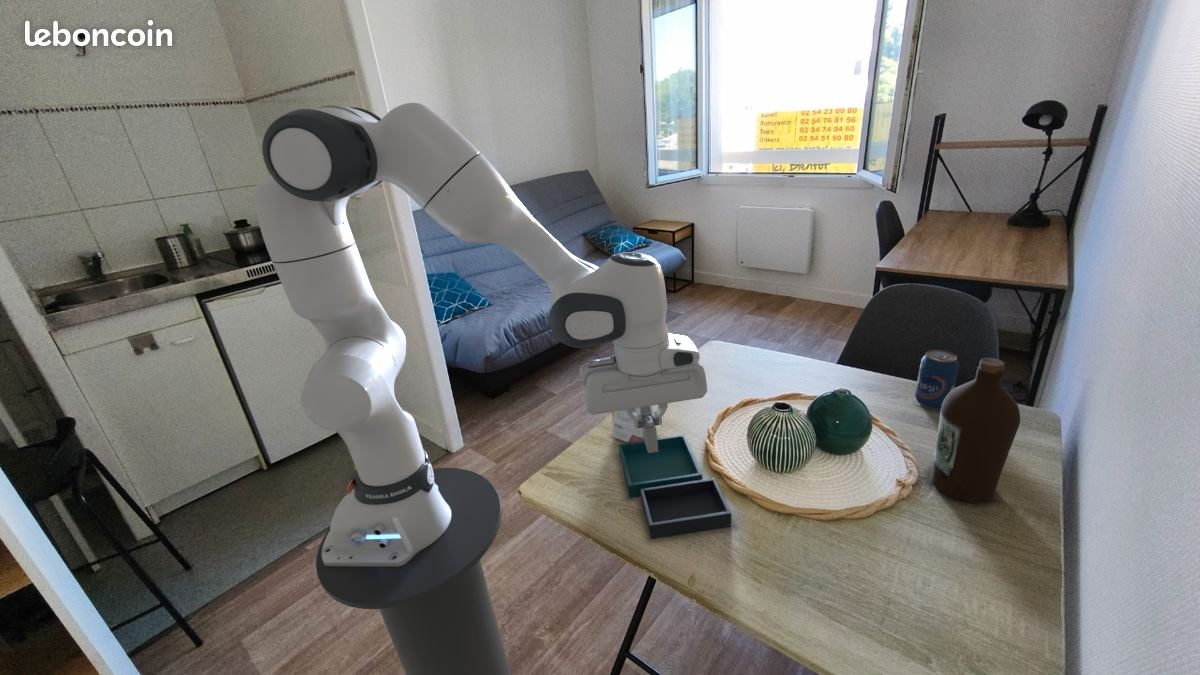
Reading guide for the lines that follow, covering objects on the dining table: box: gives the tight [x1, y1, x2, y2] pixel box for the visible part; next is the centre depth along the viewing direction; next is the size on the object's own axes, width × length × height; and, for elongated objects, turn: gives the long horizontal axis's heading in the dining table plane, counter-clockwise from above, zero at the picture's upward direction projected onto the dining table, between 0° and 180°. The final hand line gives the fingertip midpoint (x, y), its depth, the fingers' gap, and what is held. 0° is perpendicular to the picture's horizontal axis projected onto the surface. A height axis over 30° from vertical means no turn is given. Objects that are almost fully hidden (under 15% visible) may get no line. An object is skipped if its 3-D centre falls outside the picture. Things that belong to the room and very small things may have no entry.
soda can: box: [914, 349, 960, 410], centre depth 111 cm, size 7×7×12 cm
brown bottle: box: [930, 357, 1021, 504], centre depth 85 cm, size 11×11×25 cm
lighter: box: [639, 406, 658, 453], centre depth 86 cm, size 7×2×8 cm, turn 6°
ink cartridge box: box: [610, 405, 654, 443], centre depth 110 cm, size 9×5×15 cm, turn 50°
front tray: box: [640, 477, 732, 540], centre depth 90 cm, size 14×9×3 cm, turn 96°
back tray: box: [618, 434, 703, 499], centre depth 101 cm, size 14×13×3 cm
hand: (648, 424), depth 86 cm, fingers closed on lighter, 2 cm apart
